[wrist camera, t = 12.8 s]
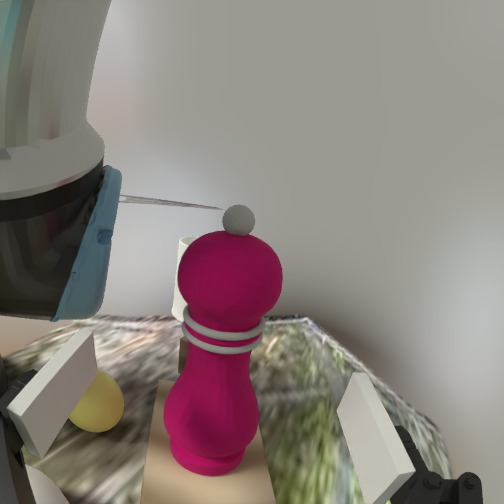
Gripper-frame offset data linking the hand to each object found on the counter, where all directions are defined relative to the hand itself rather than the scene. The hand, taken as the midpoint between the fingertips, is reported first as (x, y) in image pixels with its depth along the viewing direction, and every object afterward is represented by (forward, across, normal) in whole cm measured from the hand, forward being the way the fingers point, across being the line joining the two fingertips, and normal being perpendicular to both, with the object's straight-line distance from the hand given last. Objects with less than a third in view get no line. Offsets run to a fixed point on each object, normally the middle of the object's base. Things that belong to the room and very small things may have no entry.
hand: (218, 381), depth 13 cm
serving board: (+5, 0, -13) cm, 14 cm away
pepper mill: (+5, 0, -12) cm, 13 cm away
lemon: (+6, -11, -13) cm, 18 cm away
